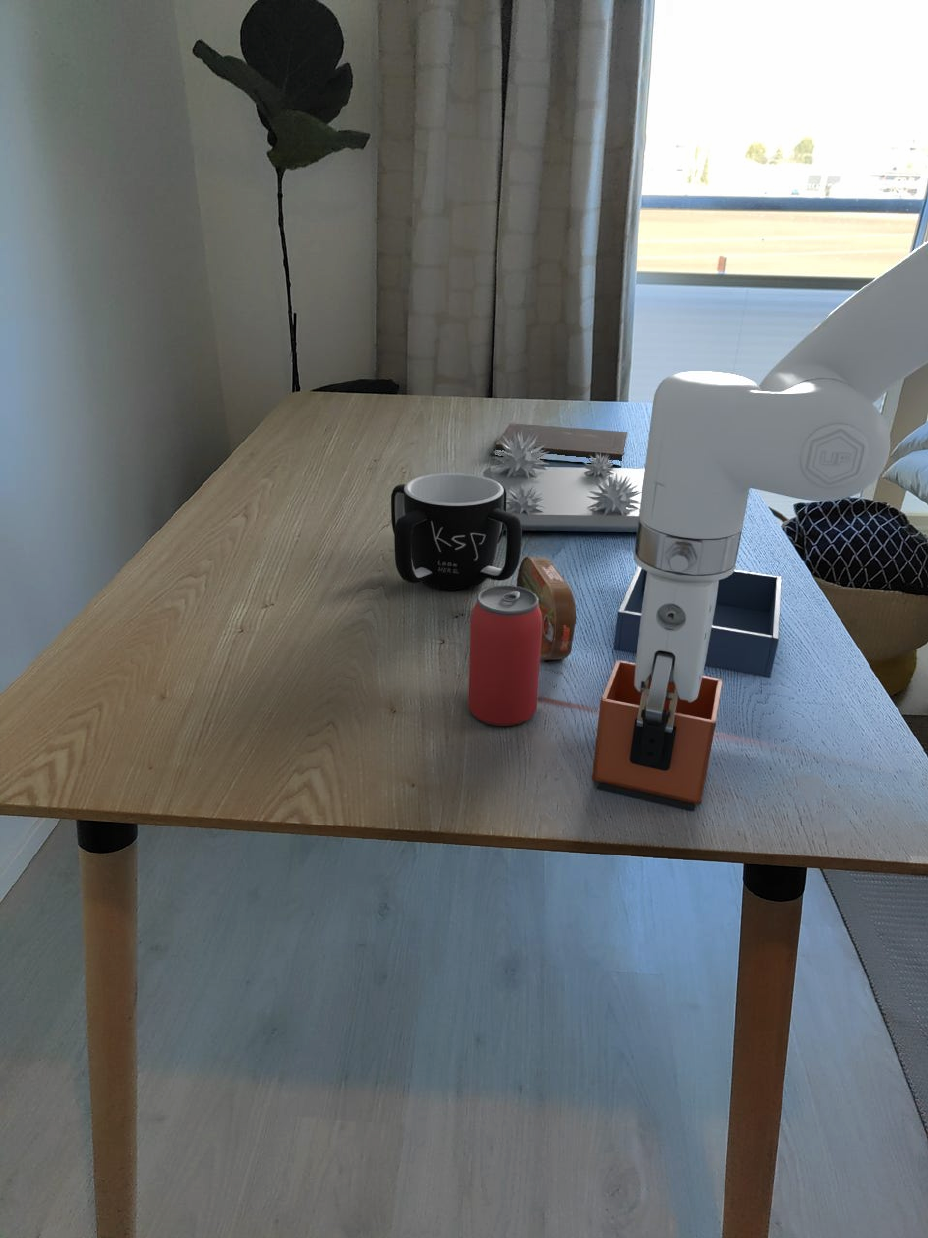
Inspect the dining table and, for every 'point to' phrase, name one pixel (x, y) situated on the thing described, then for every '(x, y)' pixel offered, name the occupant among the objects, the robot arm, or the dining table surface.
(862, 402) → the robot arm
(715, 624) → the box
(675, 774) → the small bin
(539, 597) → the tin
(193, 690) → the dining table surface
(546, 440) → the hardcover book
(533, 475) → the decorative tray
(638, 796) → the mat
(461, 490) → the mug
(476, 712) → the beer can
